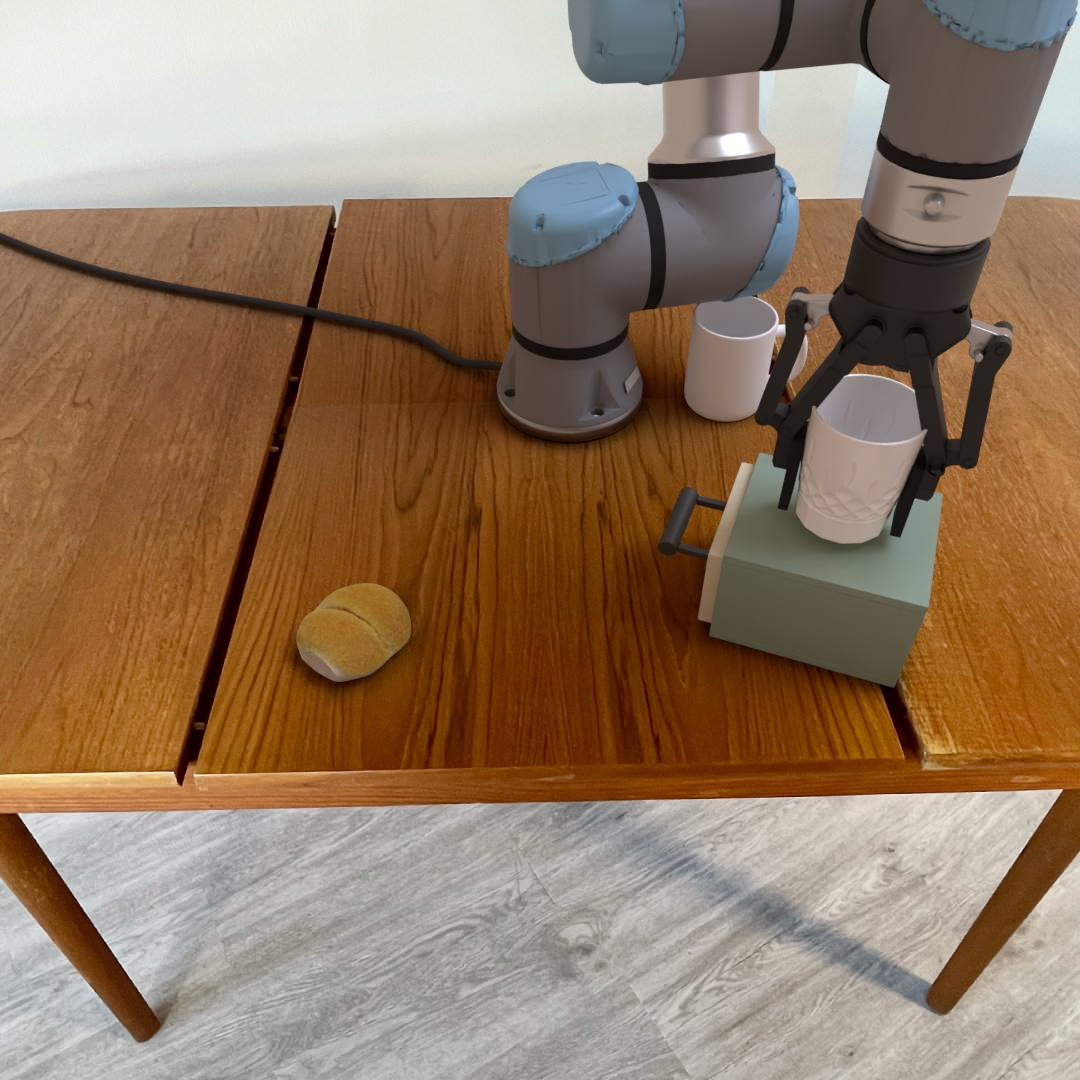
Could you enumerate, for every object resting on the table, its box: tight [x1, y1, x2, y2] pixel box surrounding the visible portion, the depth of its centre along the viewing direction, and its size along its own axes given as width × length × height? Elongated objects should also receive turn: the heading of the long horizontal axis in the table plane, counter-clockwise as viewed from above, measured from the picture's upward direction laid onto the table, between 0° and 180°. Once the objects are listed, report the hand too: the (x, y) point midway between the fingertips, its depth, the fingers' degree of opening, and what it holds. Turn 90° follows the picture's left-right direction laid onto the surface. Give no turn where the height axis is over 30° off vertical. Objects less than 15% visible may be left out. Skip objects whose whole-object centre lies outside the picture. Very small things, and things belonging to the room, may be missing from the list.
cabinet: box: [708, 452, 944, 688], centre depth 74 cm, size 15×13×10 cm
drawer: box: [657, 461, 755, 624], centre depth 75 cm, size 18×11×8 cm, turn 69°
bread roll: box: [296, 582, 412, 683], centre depth 74 cm, size 8×9×4 cm
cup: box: [683, 295, 809, 423], centre depth 94 cm, size 8×12×10 cm
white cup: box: [796, 373, 927, 544], centre depth 66 cm, size 8×8×10 cm
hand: (840, 510), depth 70 cm, fingers closed on white cup, 7 cm apart
